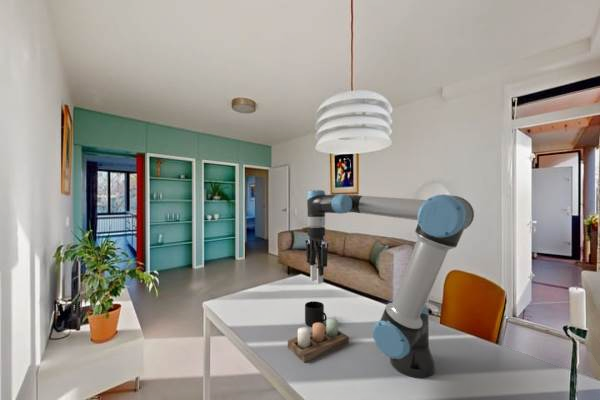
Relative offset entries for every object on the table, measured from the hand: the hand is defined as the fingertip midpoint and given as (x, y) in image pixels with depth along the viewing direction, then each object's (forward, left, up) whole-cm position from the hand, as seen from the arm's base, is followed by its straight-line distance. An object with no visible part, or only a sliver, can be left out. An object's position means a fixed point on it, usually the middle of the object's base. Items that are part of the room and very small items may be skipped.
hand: (316, 281), depth 108 cm
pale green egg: (-1, -8, -24) cm, 25 cm away
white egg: (-1, +7, -24) cm, 25 cm away
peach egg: (-1, 0, -24) cm, 24 cm away
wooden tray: (-1, 0, -27) cm, 27 cm away
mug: (+15, -11, -27) cm, 33 cm away
